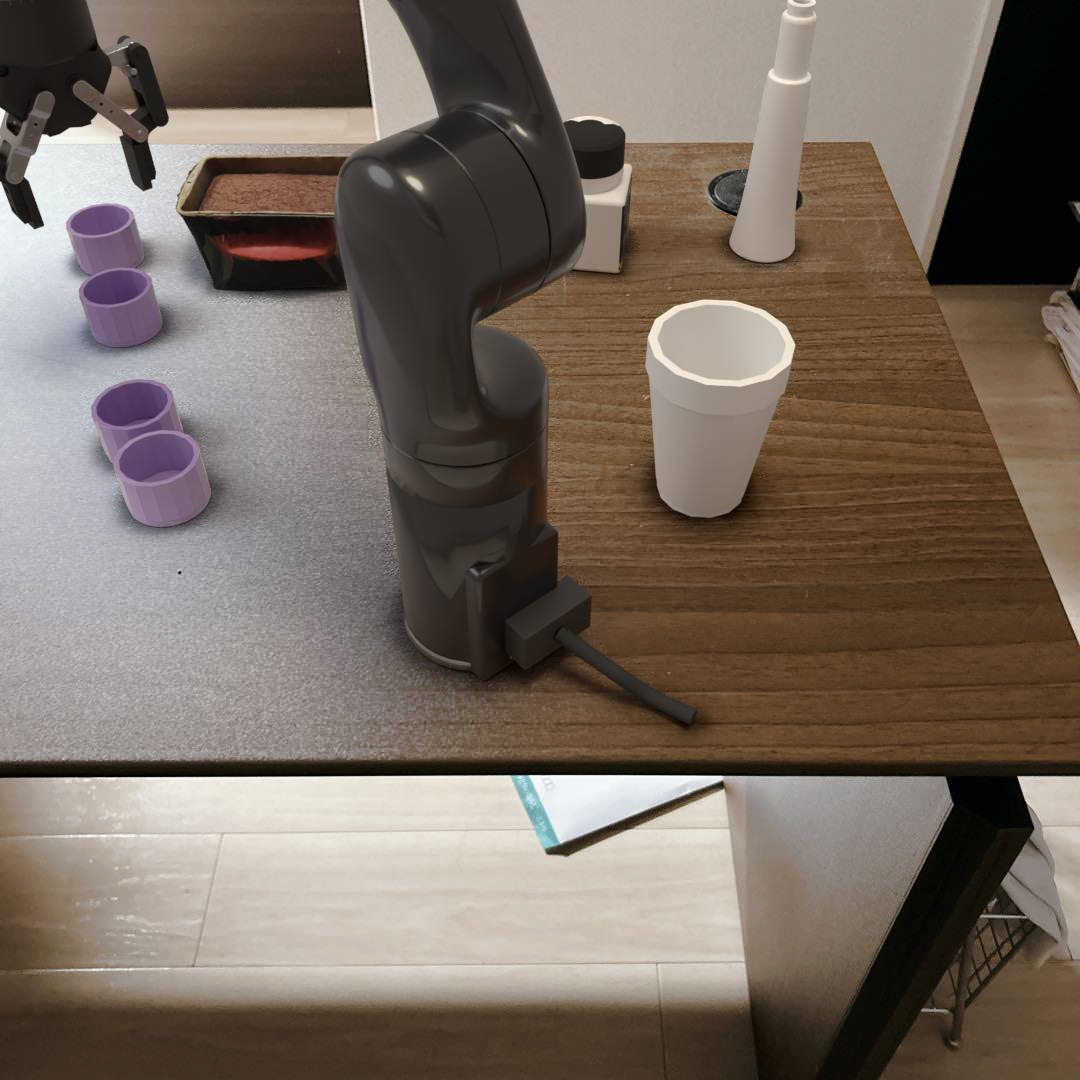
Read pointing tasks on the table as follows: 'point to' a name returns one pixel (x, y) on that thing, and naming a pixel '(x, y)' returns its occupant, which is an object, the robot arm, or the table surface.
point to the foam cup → (713, 399)
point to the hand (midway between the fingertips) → (90, 204)
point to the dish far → (105, 238)
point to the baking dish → (265, 220)
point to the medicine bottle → (602, 190)
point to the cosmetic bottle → (778, 145)
